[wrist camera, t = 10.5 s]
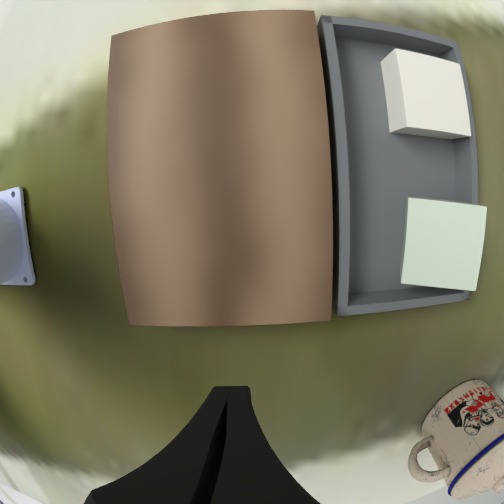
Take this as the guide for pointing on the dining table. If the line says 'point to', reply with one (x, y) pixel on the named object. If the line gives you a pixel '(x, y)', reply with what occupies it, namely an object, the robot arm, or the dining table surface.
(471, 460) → the teacup with lid
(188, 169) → the walnut plate
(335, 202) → the box
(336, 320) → the dining table surface
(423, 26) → the dining table surface
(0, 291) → the dining table surface
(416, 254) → the sage tile
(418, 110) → the cream tile
